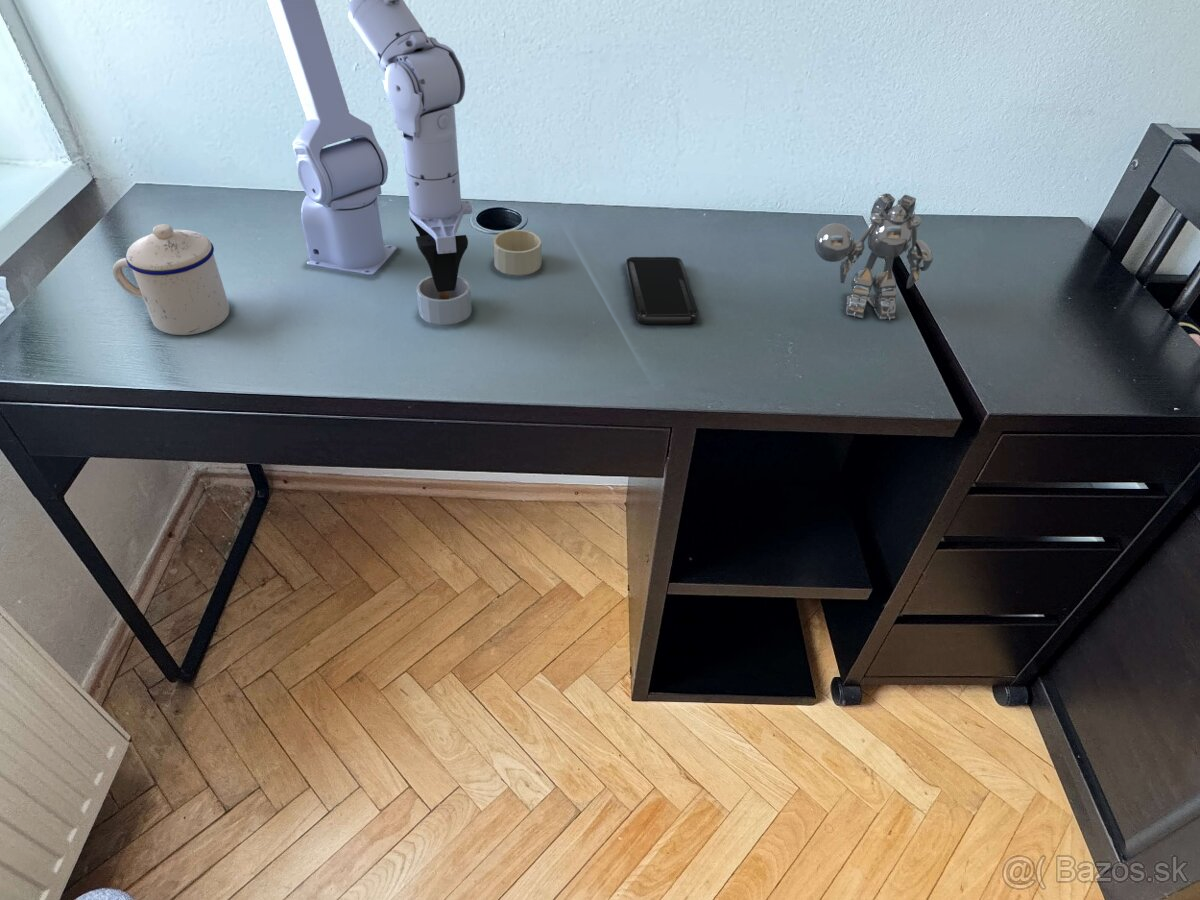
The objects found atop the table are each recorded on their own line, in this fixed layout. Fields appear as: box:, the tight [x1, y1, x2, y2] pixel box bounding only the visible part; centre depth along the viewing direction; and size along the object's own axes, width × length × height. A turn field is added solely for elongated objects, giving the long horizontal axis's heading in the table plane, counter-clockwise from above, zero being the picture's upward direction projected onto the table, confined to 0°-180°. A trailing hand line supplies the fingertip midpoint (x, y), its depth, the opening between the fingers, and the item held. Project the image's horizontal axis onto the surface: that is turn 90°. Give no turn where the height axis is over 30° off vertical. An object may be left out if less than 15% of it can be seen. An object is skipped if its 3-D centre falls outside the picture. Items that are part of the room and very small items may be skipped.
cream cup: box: [492, 229, 543, 276], centre depth 108 cm, size 6×6×4 cm
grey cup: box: [416, 275, 473, 326], centre depth 99 cm, size 6×6×4 cm
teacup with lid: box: [112, 223, 231, 336], centre depth 93 cm, size 12×9×12 cm
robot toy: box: [814, 192, 933, 320], centre depth 101 cm, size 15×6×15 cm, turn 87°
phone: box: [625, 256, 699, 325], centre depth 106 cm, size 8×1×15 cm
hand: (442, 279), depth 97 cm, fingers open, 4 cm apart
